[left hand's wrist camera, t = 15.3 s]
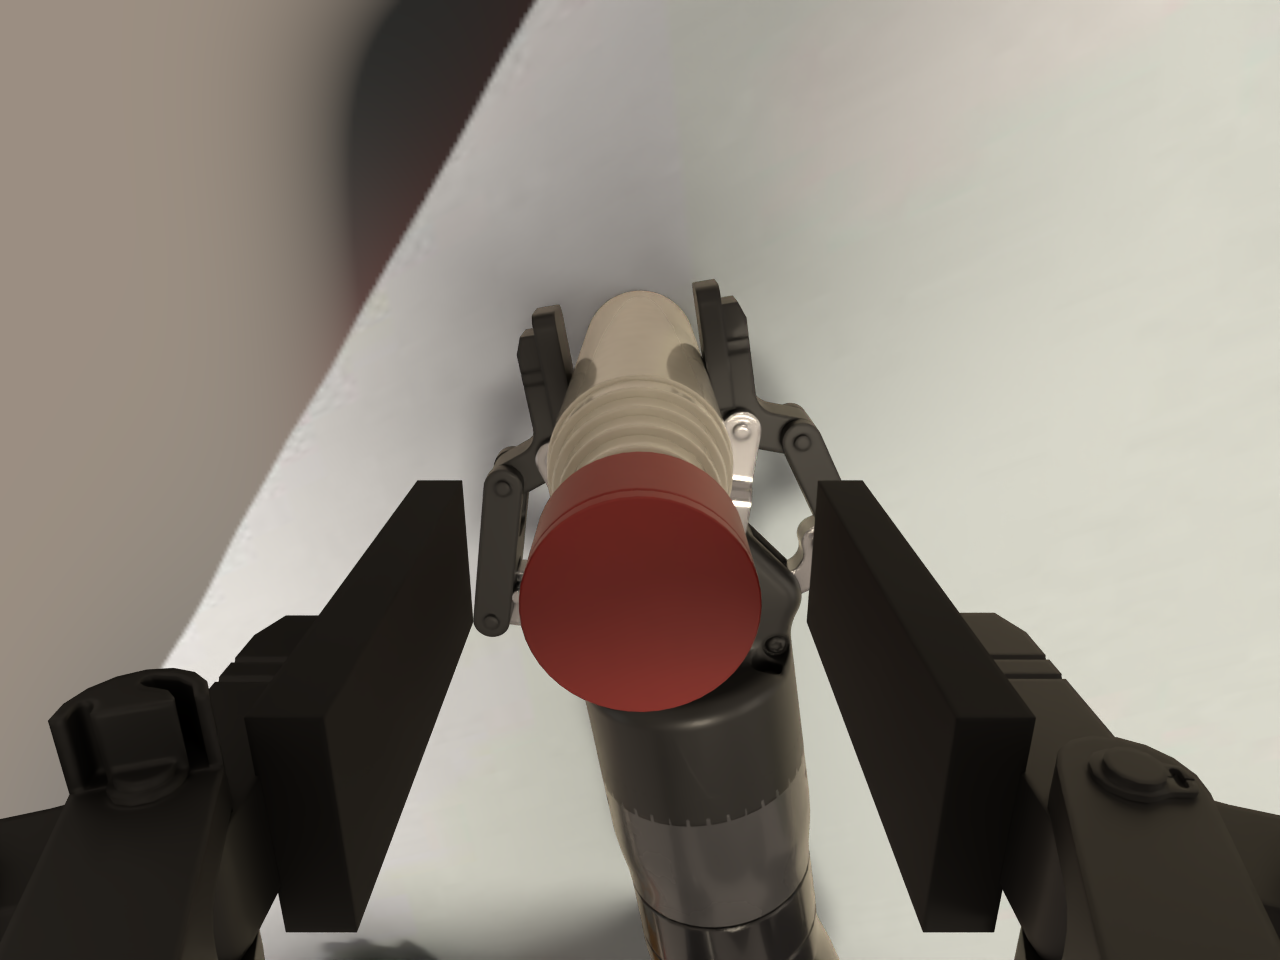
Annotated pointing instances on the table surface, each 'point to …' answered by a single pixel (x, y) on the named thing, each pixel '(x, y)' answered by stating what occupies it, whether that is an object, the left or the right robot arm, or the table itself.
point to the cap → (640, 584)
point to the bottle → (640, 393)
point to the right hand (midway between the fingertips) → (624, 299)
